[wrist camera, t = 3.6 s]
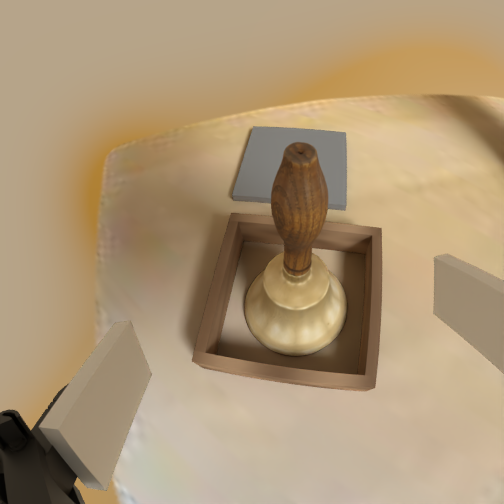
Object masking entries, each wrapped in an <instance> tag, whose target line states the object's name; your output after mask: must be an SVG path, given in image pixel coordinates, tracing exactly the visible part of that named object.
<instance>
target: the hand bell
mask: <svg viewBox="0 0 504 504" xmlns="http://www.w3.org/2000/svg"><path fill="white" fill-rule="evenodd" d="M271 209H272V216H273V220H274V223H275V226H276V229H277V231H278V234H279V235H280V237H281V238H282V240H283V241H284V252H282V253H280V254H278V255H277V256H275V257H274V258H273V259H272V260H271V261H270V262H269V264H268V265H267V267H266V269H265V270H264V271H262V272H261V273H260V274H259V275H258V276H257V277H256V279H255V280H254V281H253V283H252V284H251V286H250V288H249V290H248V292H247V295H246V300H245V317H246V321H247V324H248V327H249V329H250V330H251V332H252V334H253V335H254V336H255V338H256V339H257V340H258V341H259V342H260V343H262V344H263V345H264V346H265V347H267V348H269V349H270V350H272V351H275V352H277V353H280V354H284V355H290V356H301V355H307V354H311V353H314V352H317V351H319V350H321V349H322V348H324V347H326V346H327V345H329V344H330V343H331V342H332V341H333V340H334V339H335V338H336V337H337V336H338V334H339V333H340V331H341V329H342V328H343V325H344V323H345V320H346V316H347V299H346V295H345V291H344V289H343V287H342V285H341V283H340V282H339V280H338V279H337V278H336V277H335V275H334V274H333V273H332V272H330V271H329V270H328V269H327V267H326V265H325V263H324V262H323V261H322V260H321V259H320V258H319V257H318V256H317V255H315V254H313V253H312V244H313V242H314V241H315V240H316V238H317V237H318V235H319V234H320V232H321V230H322V228H323V225H324V223H325V219H326V214H327V209H328V189H327V184H326V181H325V177H324V174H323V172H322V169H321V167H320V164H319V160H318V155H317V150H316V149H315V148H314V147H313V146H312V145H310V144H308V143H304V142H295V143H292V144H290V145H288V146H287V147H286V149H285V150H284V154H283V158H282V162H281V165H280V167H279V169H278V171H277V174H276V177H275V180H274V182H273V186H272V191H271Z"/></svg>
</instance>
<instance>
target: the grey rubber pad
mask: <svg viewBox="0 0 504 504" xmlns="http://www.w3.org/2000/svg"><path fill="white" fill-rule="evenodd" d="M295 142H304V143H308V144H310V145H312V146H313V147H314V148H315V149H316V150H317V155H318V160H319V164H320V167H321V169H322V172H323V174H324V177H325V181H326V184H327V189H328V209H336V210H345V209H346V190H347V156H346V133H345V132H335V131H325V130H313V129H299V128H282V127H255V126H253V129H252V132H251V136H250V139H249V142H248V145H247V148H246V151H245V154H244V158H243V161H242V164H241V167H240V171H239V174H238V177H237V180H236V184H235V187H234V190H233V194H232V197H233V200H236V201H250V202H262V203H271V191H272V186H273V182H274V180H275V177H276V174H277V171H278V169H279V167H280V165H281V162H282V158H283V154H284V150H285V149H286V147H287V146H288V145H290V144H292V143H295Z"/></svg>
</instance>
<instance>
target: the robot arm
mask: <svg viewBox="0 0 504 504" xmlns="http://www.w3.org/2000/svg"><path fill="white" fill-rule="evenodd" d="M433 314H435V315H436V316H437V317H438V318H439V319H441V320H442V321H443V322H444V323H446V324H447V325H448V326H449V327H450V328H452V329H453V330H454V331H455V332H456V333H458V334H459V335H460V336H461V337H462V338H464V339H465V340H466V341H467V342H468V343H469V344H471V345H472V346H473V347H474V348H475V349H476V350H478V351H479V352H480V353H481V354H482V355H483V356H484V357H486V358H487V359H488V360H489V361H490V362H491V363H492V364H493V365H495V366H496V367H497V368H498V369H499V370H500V371H501V372H502V373H503V374H504V281H503V280H501V279H499V278H497V277H495V276H493V275H491V274H489V273H487V272H485V271H483V270H481V269H479V268H477V267H475V266H473V265H471V264H469V263H466V262H464V261H462V260H460V259H458V258H456V257H453V256H451V255H449V254H444V255H440V256H436V257H434V310H433ZM151 375H152V373H151V371H150V369H149V366H148V364H147V361H146V359H145V356H144V354H143V352H142V349H141V347H140V344H139V341H138V339H137V336H136V334H135V331H134V328H133V326H132V323H131V321H124V322H118V323H115V324H114V325H113V326H112V328H111V329H110V330H109V331H108V333H107V334H106V335H105V337H104V338H103V339H102V340H101V342H100V343H99V344H98V346H97V347H96V348H95V350H94V351H93V352H92V353H91V355H90V356H89V358H88V359H87V360H86V361H85V363H84V364H83V365H82V367H81V368H80V369H79V371H78V372H77V373H76V375H75V376H74V378H73V379H72V380H71V382H70V383H69V384H67V385H66V386H65V387H64V388H63V389H61V390H60V391H59V392H58V393H57V395H56V396H55V398H54V399H53V402H51V403H50V405H49V406H48V409H46V410H45V412H44V413H43V414H42V416H41V417H40V419H39V420H38V421H37V423H36V424H35V426H34V427H33V429H32V430H30V429H29V428H28V426H27V425H26V423H25V422H24V421H23V419H22V417H21V416H20V414H19V413H18V412H17V411H15V410H6V411H2V412H1V413H0V504H85V502H84V500H83V498H82V496H81V494H80V491H79V490H78V489H77V487H76V486H75V485H74V483H75V481H76V478H77V477H78V478H79V479H80V480H81V482H82V483H83V484H84V485H85V486H86V487H87V488H92V489H98V490H105V491H107V489H108V486H109V483H110V480H111V478H112V475H113V472H114V469H115V467H116V464H117V461H118V459H119V456H120V453H121V451H122V448H123V445H124V443H125V440H126V437H127V435H128V432H129V430H130V427H131V425H132V422H133V419H134V417H135V414H136V412H137V409H138V407H139V404H140V402H141V399H142V397H143V394H144V392H145V390H146V387H147V385H148V382H149V380H150V377H151Z"/></svg>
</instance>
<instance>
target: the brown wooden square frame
mask: <svg viewBox="0 0 504 504" xmlns="http://www.w3.org/2000/svg"><path fill="white" fill-rule="evenodd" d="M243 240H244V241H253V242H263V243H272V244H282V245H284V241H283V240H282V238H281V237H280V235H279V234H278V231H277V229H276V226H275V223H274V220H273V216H262V215H251V214H239V213H231V215H230V219H229V222H228V226H227V229H226V233H225V237H224V240H223V244H222V247H221V251H220V255H219V258H218V262H217V266H216V269H215V273H214V277H213V280H212V284H211V288H210V292H209V295H208V299H207V303H206V307H205V311H204V314H203V318H202V322H201V326H200V330H199V334H198V338H197V342H196V346H195V350H194V354H193V358H192V362H194V363H196V364H197V365H199V366H201V367H202V368H206V369H210V370H215V371H220V372H225V373H230V374H235V375H240V376H246V377H251V378H257V379H263V380H269V381H275V382H282V383H289V384H296V385H304V386H312V387H321V388H331V389H341V390H353V391H368V390H370V389H373V388H375V384H376V375H377V366H378V354H379V342H380V326H381V304H382V230H381V228H376V227H368V226H359V225H351V224H342V223H333V222H325V223H324V225H323V228H322V230H321V232H320V234H319V235H318V237H317V238H316V240H315V241H314V242H313V244H312V248H319V249H328V250H337V251H346V252H354V253H363V254H365V286H364V305H363V320H362V333H361V344H360V354H359V363H358V372H357V375H354V374H342V373H332V372H323V371H314V370H306V369H298V368H290V367H283V366H277V365H270V364H264V363H257V362H251V361H246V360H240V359H235V358H229V357H224V356H219V355H216V354H217V350H218V345H219V341H220V337H221V332H222V328H223V324H224V320H225V315H226V311H227V307H228V303H229V299H230V294H231V290H232V286H233V282H234V278H235V274H236V269H237V265H238V261H239V257H240V253H241V249H242V245H243Z"/></svg>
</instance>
